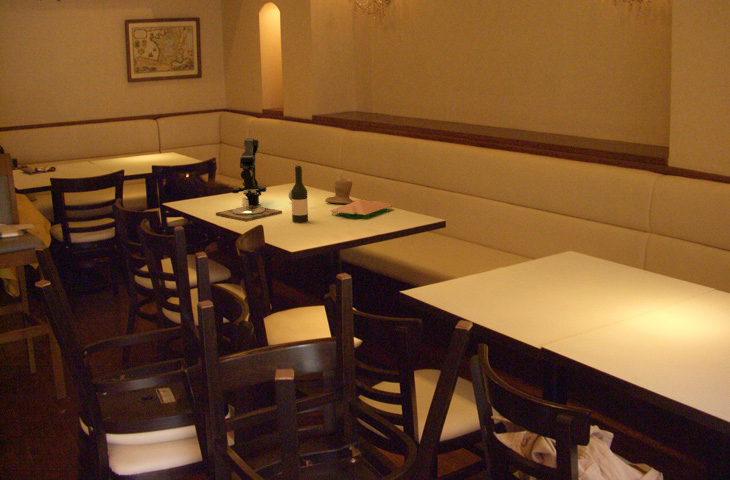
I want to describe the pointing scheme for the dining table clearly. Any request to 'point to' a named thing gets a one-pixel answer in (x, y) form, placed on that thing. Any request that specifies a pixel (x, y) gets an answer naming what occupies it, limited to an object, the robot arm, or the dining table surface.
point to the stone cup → (341, 192)
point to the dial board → (248, 217)
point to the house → (362, 208)
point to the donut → (290, 194)
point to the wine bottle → (299, 199)
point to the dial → (247, 209)
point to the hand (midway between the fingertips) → (250, 204)
